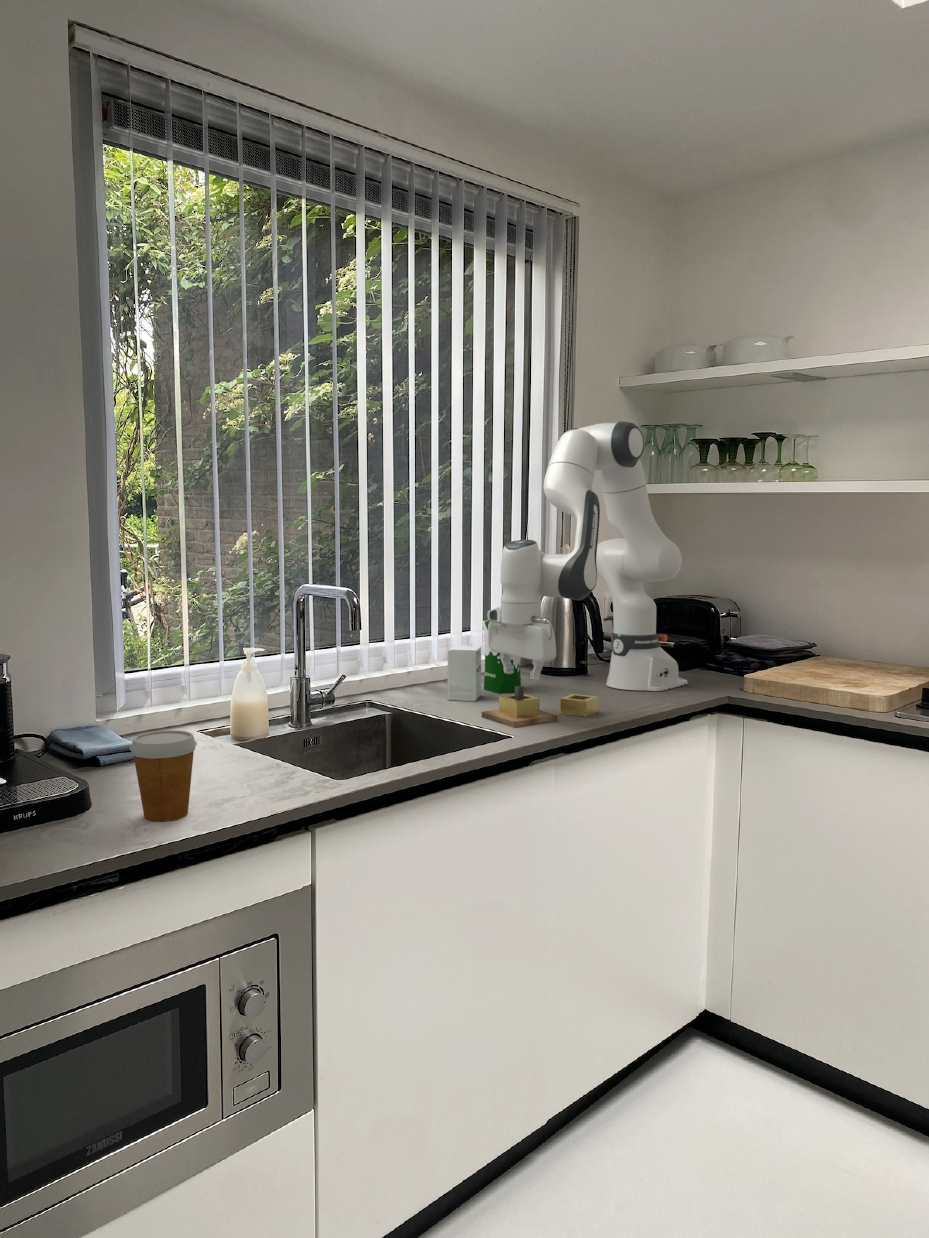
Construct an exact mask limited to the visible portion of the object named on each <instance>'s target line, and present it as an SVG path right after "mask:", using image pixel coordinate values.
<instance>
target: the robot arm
mask: <svg viewBox="0 0 929 1238" xmlns="http://www.w3.org/2000/svg"><path fill="white" fill-rule="evenodd" d="M644 439H645V438H644V436H643V433H642V431H641V429H640V428H639V426H637V425H636V424H635V423H633V422H630V421H629V422H628V421H619V422H601V423H595V424H592V425H587V426H583V427H580V428H578V427H573V428H572V429H568V430H566V431H565V432H563V433H562V434H561V435H560V438H559V439H558V442H557V443H556V446H555V448H554V449H553V452H552V454H551V457H550V460H549V462H548V466H547V469H546V473H545V476H544V480H543V492H544V495H545V498H546V499H547V500H548V502H549V503H550V504H551V505H552V506H554V508H556V509H558V510H559V511H560V512H562V513H565V514H567V515H569V516H572V517H574V518H575V520H576V528H575V536H574V537H575V539H574V547H573V550H571V552H569V553H567V554H563V553H562V554H561V553H557V554H555V553H545V552H544V551H542V550H540V549H539V544H538V542H537V541H535V540H533V539H520V540H513V541H509V542H507V543H506V544H505V545H504V546H503V549H502V554H501V559H500V561H501V562H500V584H501V587H502V594H501V598H500V606H497V607H496V608H493V609H490V610H488V611H487V612H486V613H487V621H488V620H490V622H489V624H488V645H489V648H490V650H491V651H493V652H498V653H500V659H501V661H502V663H503V665H504V673H507V674H512V673H513V672H514V670H513V669H514V666H513V665H512V664H511V661H510V657H511V655H512V656H517V657H520V659H522V658H523V659H527V660H530V661H532V662H531V663H532V665H533V668H532V671H529V679H530V680H532V681H539V680H541V672H542V670H543V667H544V665H545V662H546V663H548V662H552V661H554V660H555V659H556V657H557V644H556V637H555V631H554V628H553V627H554V626H553V624H552V623H551V622H550V621H549V619H548V618H546V617H542V597H545V598H546V597H549V598H564V599H568V600H574V601H582V600H584V599H585V598H587V597H588V596H589V595H590V594H592V592H593V591H594V589H595V588H596V586H597V580H598V574H599V576H600V577H601V578H602V579H603V581H604V582H605V584H606V585H607V588H608V590H609V593H610V596H611V601H612V610H613V612H612V614H613V617H612V619H613V620H612V621H613V629H612V630H613V632H611V638H610V640H611V641H610V642H611V649H612V651H611V655H610V662H609V663H610V665H609V671H608V675H607V679H606V683H605V685H606V686H607V687H609V688H614V689H616V690H617V689H619V690H625V691H649V692H650V691H651V692H660V691H661V692H662V691H665V690H670V689H675V688H677V687H678V688H679V687H682V686H685V685H684V684H686V685H688V684H689V683H688V680H687V679H685V678H683V677H679V675H680V674H679V672H680V671H679V665H678V661H676V659H674V658H673V657H672V656H671V655H670V654H669V653H667V652H666V651H665V650H664V649H663V648H662V647H661V646H662V645H661V642H662V643H666V642H667V641H668V639H669V638H668V635H667V634H661V633H659V634H658V633H657V605H656V603H655V601H654V599H652V598H651V597H650V596H649V595H648V594H646V592H645V590H644V587H643V585H642V582H655V583H656V582H662V581H663V582H664V581H668V580H672V579H674V578H675V577H677V575H678V574H679V572H680V570H681V567H682V562H683V560H682V559H683V558H682V557H683V556H682V553H681V550H680V549H679V547H678V545H677V544H676V543H674V541H672V540H670V539H669V538H668V537H667V536H666V535H665V534H664V532H663V531H662V530H661V528H660V527H659V525H658V524H657V522H656V519H655V518H654V517H655V516H654V515H653V512H652V509H651V504H650V499H649V493H648V490H647V489H648V488H647V482H646V476H645V472H644V467H643V464H642V462H641V458H642V455H643V452H644V446H645V440H644ZM596 471H600V480H601V482H600V483H601V489H602V495H603V501H604V507H605V512H606V513H605V514H606V518H607V520H608V522H609V523H610V525H612V526H613V527H614V528H616V529H618V531H619V532H620V533H621V534H622V536H623V537H624V538H623V537H617V538H616V537H615V538H610V539H607V540H603V541H600V542H599V541H598V540H599V531H600V520H601V519H600V517H601V516H600V515H601V509H600V507H601V505H600V499H599V497H598V495H597V494H596V492H594V491H593V482H594V478H595V473H596ZM598 542H599V543H598ZM681 685H682V686H681ZM669 688H670V689H669Z"/></svg>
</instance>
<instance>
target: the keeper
mask: <svg viewBox="0 0 929 1238" xmlns="http://www.w3.org/2000/svg"><path fill="white" fill-rule="evenodd" d="M524 694H525V686H523V685H521V686H515V692H514V695H515V699H516V700H521V699H524ZM481 718H483V719H486V720H489V721H493V722H496V723H499V724H501V725H502V724H503V725H506V726H509V727H512V728H520V727H524V726H530V725H537V724H542V723H543V722H544V723H549V722H550V723H551V722H556V721H558V714H554V713H551V712H548V711H544V710H540V714H538V715H531V716H525V717H519V718H516V717H512V716H509V715H506V714H502V713H499V708H498V709H491V710H485V711H481Z"/></svg>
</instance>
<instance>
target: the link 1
mask: <svg viewBox="0 0 929 1238" xmlns="http://www.w3.org/2000/svg"><path fill="white" fill-rule="evenodd" d="M498 701H499V702H498V705H499V706H498V707H499V708H498V709H499V713H502V714H506V715H509V716H512V717H516V718H519V717H525V716H531V715H538V714H540V706H541V704H540V703H541V699H540V697H537V696H533V695H530V694H525V693H524V699H521V700H516V699H515V694H509V695H502V696H498Z"/></svg>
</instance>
